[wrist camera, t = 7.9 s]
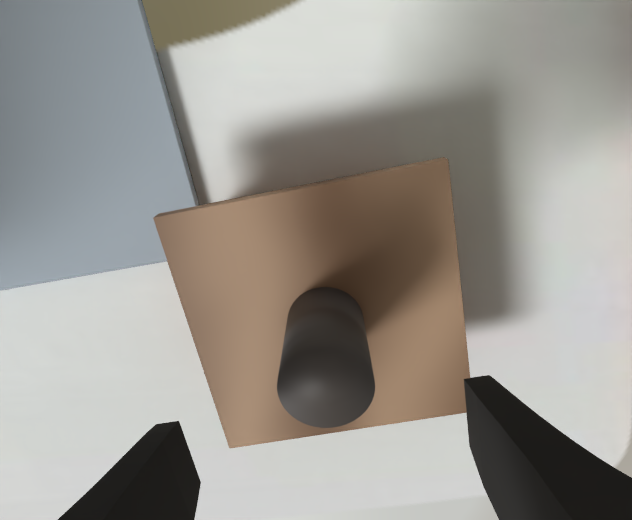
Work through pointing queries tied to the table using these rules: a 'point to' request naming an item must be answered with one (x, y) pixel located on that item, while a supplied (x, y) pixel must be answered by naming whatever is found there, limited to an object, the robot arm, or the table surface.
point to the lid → (325, 303)
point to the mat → (83, 141)
